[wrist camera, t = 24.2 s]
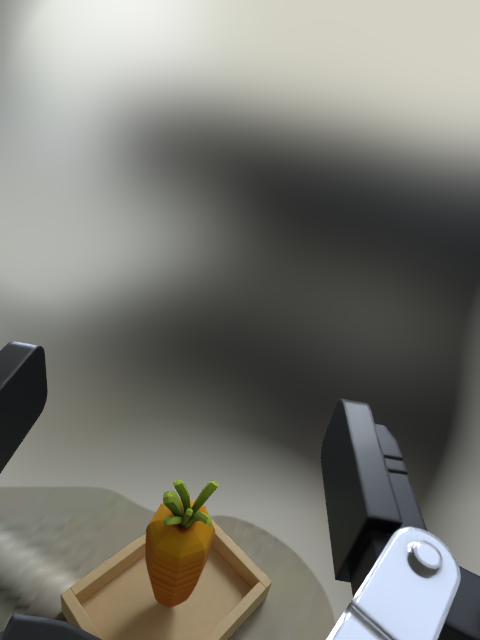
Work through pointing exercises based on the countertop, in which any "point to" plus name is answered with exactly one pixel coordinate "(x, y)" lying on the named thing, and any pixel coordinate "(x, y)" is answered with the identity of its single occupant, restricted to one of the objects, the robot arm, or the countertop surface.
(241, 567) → the tray
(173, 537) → the carrot
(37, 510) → the countertop surface
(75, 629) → the robot arm
